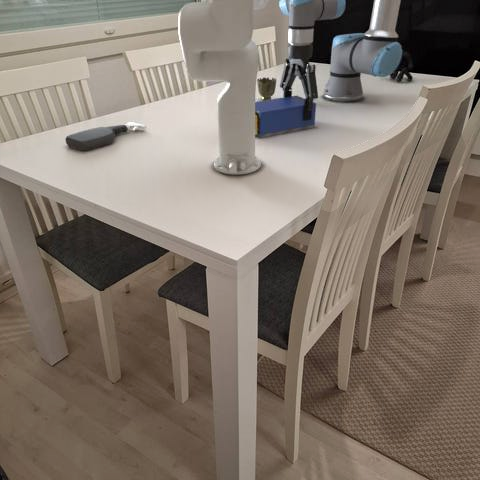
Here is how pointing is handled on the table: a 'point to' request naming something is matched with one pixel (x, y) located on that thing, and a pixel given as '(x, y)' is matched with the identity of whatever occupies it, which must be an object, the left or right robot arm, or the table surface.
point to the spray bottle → (99, 136)
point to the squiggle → (403, 68)
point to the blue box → (282, 116)
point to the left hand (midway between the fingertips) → (238, 94)
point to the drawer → (256, 123)
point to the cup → (266, 87)
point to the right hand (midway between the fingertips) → (296, 115)
